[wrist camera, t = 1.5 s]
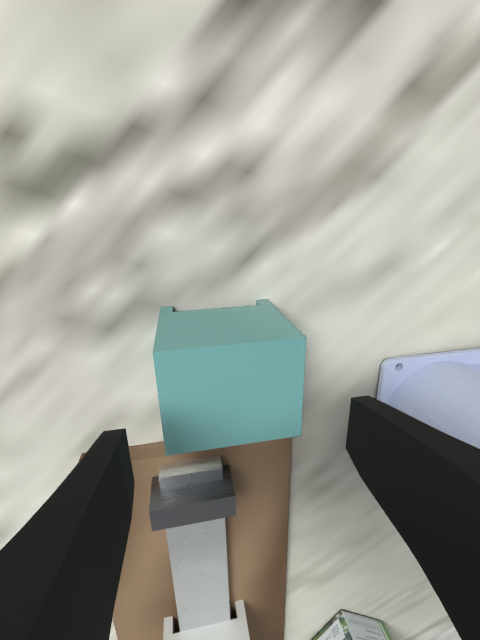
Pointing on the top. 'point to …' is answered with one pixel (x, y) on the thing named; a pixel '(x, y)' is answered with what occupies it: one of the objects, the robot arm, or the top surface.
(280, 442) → the mounting board
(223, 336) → the teal module
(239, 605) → the grey module
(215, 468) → the steel rail
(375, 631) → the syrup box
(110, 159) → the top surface
